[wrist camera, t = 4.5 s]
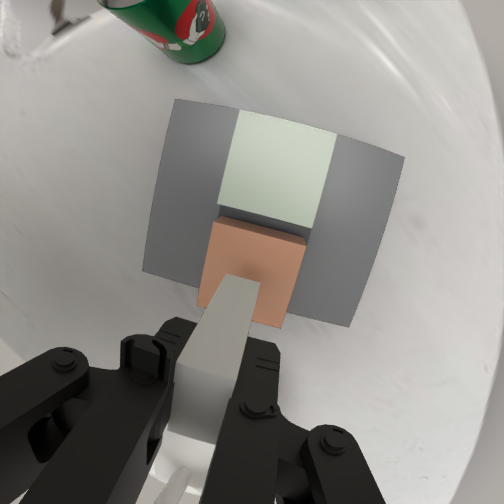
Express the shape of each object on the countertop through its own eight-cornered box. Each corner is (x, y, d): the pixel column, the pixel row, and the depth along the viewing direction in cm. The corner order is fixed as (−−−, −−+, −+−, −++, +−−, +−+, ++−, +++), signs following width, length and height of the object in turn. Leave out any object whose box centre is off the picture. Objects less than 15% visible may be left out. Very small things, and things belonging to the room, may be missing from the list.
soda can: (222, 6, 19) (176, -83, 8) (230, 58, 21) (180, -21, 9) (163, 22, 20) (87, -47, 9) (167, 72, 21) (81, 17, 10)
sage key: (224, 199, 18) (217, 203, 16) (245, 115, 17) (240, 109, 15) (309, 221, 18) (311, 228, 16) (331, 137, 17) (337, 133, 15)
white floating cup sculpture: (140, 367, 29) (6, 569, 5) (227, 310, 26) (91, 632, 2) (221, 442, 31) (165, 639, 7) (311, 404, 28) (307, 658, 4)
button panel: (162, 255, 25) (141, 271, 21) (193, 108, 22) (174, 98, 18) (341, 303, 25) (349, 328, 21) (386, 158, 21) (405, 157, 17)
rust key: (204, 292, 20) (196, 305, 18) (221, 215, 19) (213, 221, 17) (281, 313, 20) (280, 328, 18) (304, 237, 18) (306, 246, 16)
